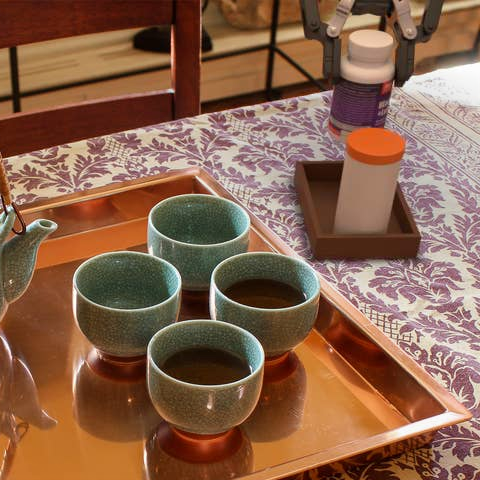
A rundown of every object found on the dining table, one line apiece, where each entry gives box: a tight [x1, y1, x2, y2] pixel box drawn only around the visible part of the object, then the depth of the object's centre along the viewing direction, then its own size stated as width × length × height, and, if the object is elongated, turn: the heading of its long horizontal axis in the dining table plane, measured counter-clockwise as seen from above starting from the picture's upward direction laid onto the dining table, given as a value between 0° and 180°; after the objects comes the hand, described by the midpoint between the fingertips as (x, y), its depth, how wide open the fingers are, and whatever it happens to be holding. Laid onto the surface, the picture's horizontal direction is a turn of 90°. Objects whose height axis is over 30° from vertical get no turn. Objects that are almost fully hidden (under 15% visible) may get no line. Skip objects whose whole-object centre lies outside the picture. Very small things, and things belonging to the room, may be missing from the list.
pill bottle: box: [327, 29, 395, 145], centre depth 89 cm, size 5×5×10 cm
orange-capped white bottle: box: [333, 128, 407, 234], centre depth 88 cm, size 5×5×10 cm
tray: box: [293, 160, 422, 261], centre depth 93 cm, size 14×10×2 cm
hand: (367, 82), depth 87 cm, fingers closed on pill bottle, 5 cm apart
